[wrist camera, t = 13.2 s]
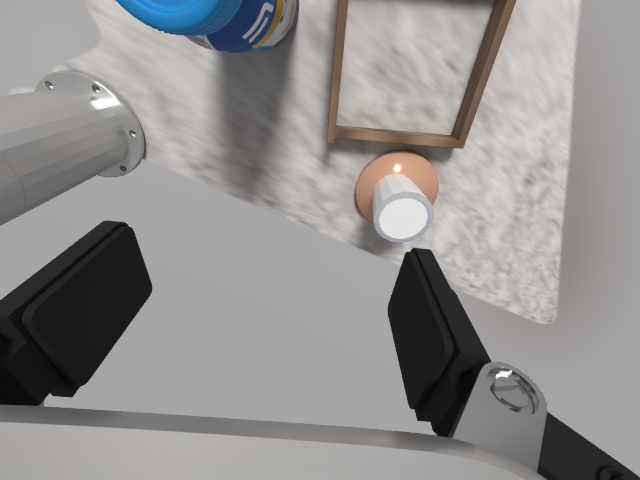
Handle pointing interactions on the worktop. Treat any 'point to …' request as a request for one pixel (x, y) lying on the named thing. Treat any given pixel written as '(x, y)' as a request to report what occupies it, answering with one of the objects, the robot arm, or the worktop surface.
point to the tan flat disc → (395, 164)
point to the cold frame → (470, 101)
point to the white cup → (400, 209)
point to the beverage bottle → (220, 21)
